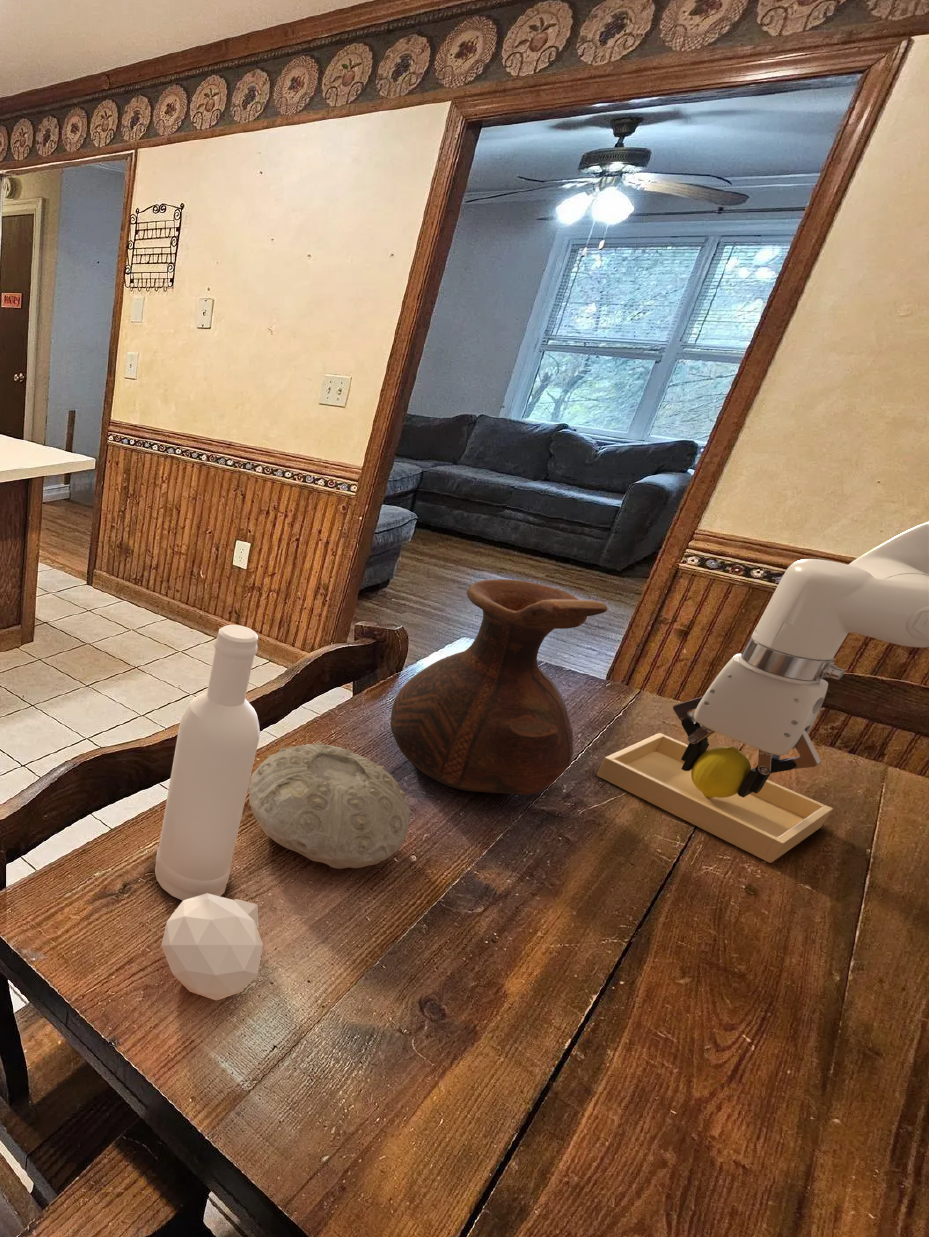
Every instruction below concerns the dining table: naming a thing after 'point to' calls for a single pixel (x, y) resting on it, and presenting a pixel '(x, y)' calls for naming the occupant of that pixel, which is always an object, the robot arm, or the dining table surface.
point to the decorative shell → (329, 805)
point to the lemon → (720, 772)
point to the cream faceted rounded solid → (213, 945)
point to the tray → (715, 800)
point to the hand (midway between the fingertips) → (716, 779)
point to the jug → (494, 697)
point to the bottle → (210, 774)
